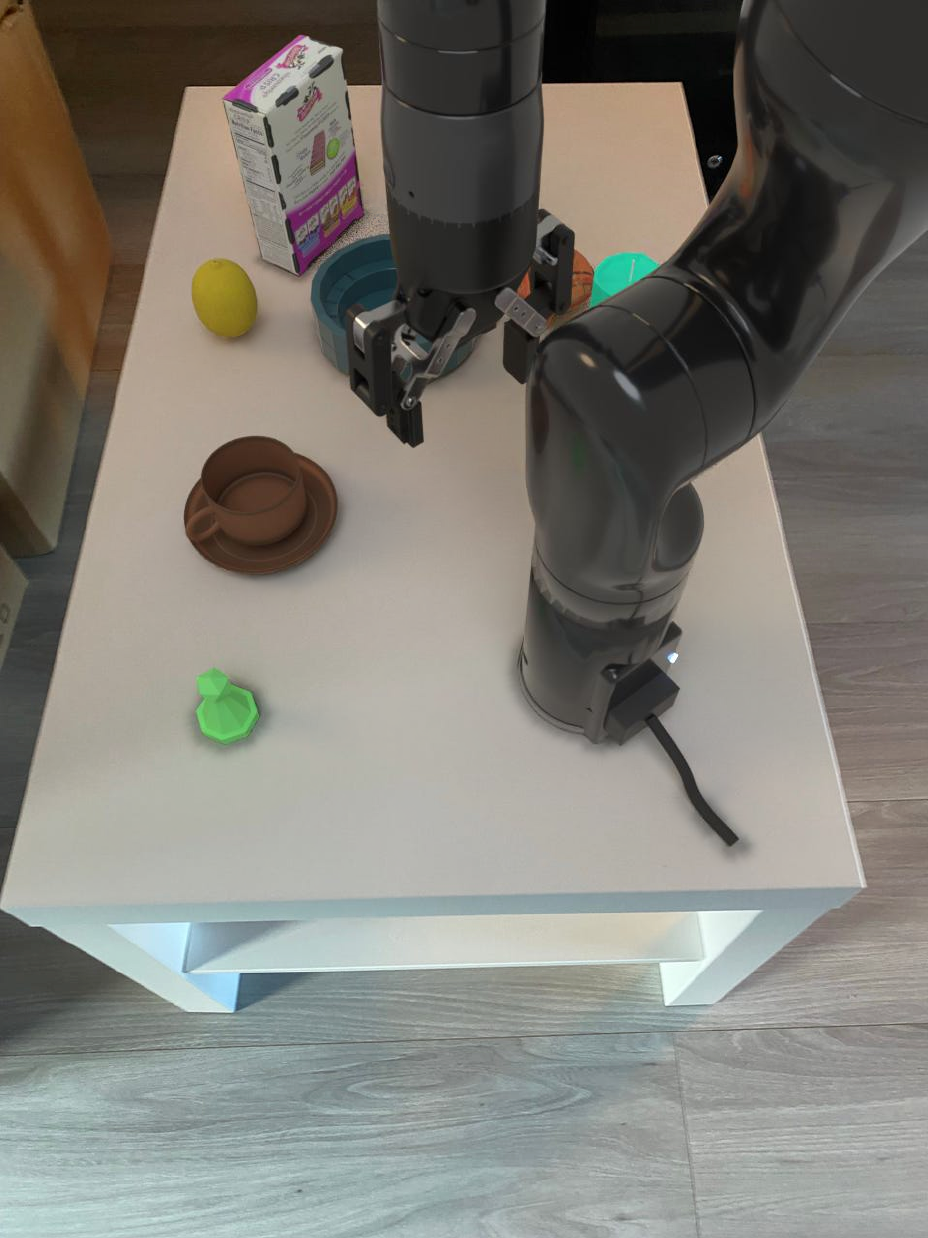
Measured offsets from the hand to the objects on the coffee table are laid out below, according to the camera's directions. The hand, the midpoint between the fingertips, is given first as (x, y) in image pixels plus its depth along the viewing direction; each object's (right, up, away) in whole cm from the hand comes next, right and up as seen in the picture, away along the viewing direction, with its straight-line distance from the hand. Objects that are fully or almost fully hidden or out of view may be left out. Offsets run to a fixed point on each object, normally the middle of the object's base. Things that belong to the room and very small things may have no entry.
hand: (464, 405), depth 59 cm
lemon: (-21, +13, +28) cm, 37 cm away
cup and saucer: (-16, -6, +17) cm, 24 cm away
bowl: (-6, +13, +28) cm, 31 cm away
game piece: (-17, -20, +8) cm, 28 cm away
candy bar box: (-15, +24, +35) cm, 45 cm away
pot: (+8, +16, +29) cm, 34 cm away
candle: (+13, +8, +25) cm, 30 cm away
